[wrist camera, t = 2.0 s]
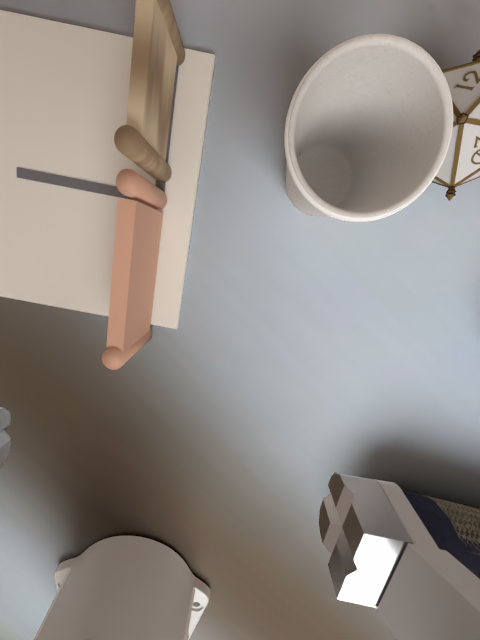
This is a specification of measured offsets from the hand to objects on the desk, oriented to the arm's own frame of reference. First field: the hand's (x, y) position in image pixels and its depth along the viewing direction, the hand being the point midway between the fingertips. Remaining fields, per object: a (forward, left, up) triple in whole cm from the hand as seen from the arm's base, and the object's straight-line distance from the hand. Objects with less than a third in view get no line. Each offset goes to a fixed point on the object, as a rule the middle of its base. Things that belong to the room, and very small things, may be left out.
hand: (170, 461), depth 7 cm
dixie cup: (+12, -6, -20) cm, 24 cm away
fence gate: (+2, +7, -19) cm, 21 cm away
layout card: (+8, +13, -20) cm, 25 cm away
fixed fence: (+14, +7, -20) cm, 25 cm away
